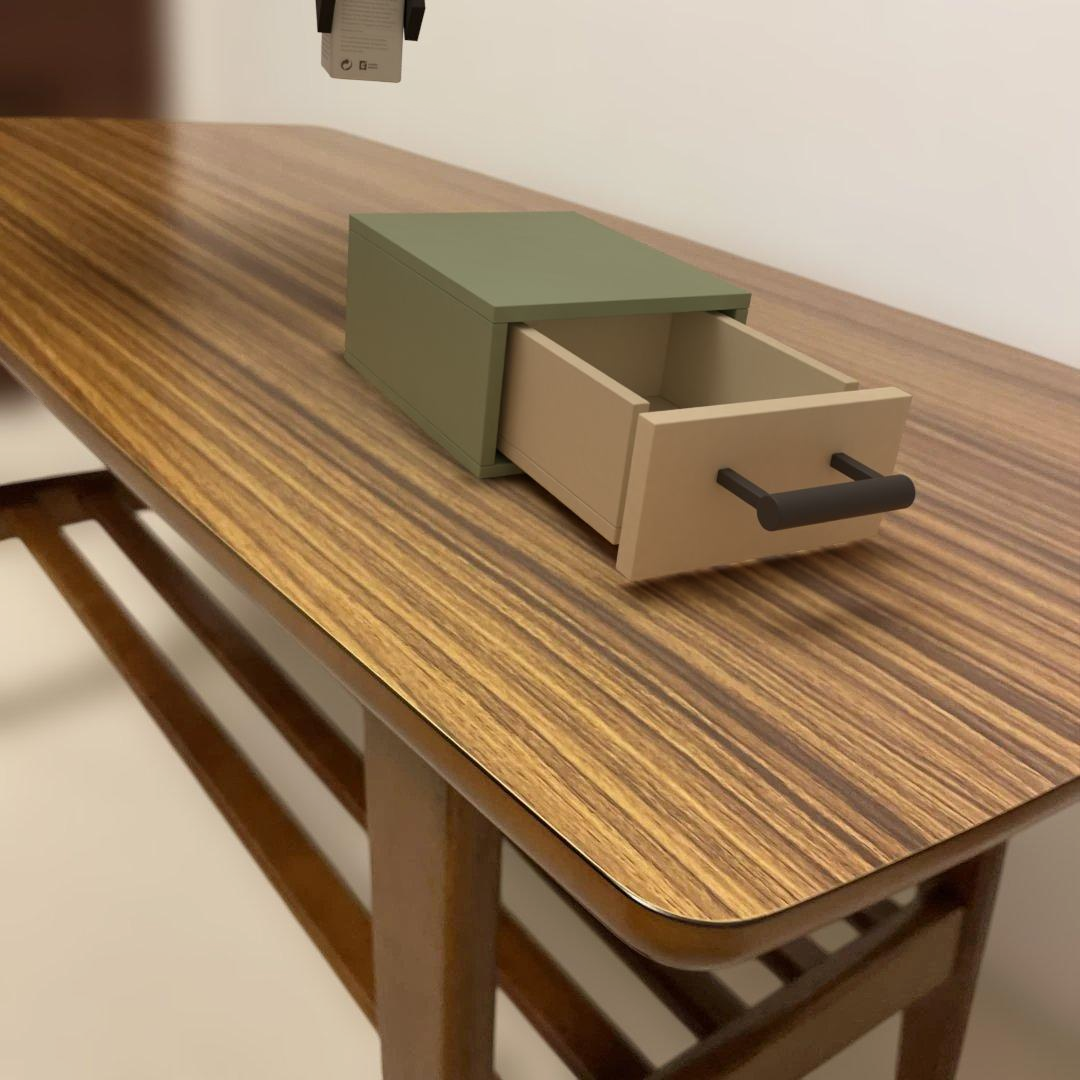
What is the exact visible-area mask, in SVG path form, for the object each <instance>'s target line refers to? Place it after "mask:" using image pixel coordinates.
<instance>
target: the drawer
mask: <svg viewBox="0 0 1080 1080" xmlns="http://www.w3.org/2000/svg"><path fill="white" fill-rule="evenodd" d="M859 385H860V381H859V380H858V379H855V378H853V377H851V376H849V375H847V374H845V373H843V372H841V371H839V370H837V369H835V368H833V367H831V366H829V365H827V364H825V363H822V362H821V361H819V360H817V359H815V358H813V357H810V356H809V355H807V354H805V353H803V352H800V351H799V350H797V349H794V348H792V347H791V346H788V345H786V344H785V343H784V342H781V341H779V340H777V339H774V338H772V337H770V336H768V335H766V334H765V333H763V332H761V331H758V330H756V329H754V328H752V327H750V326H748V325H744V324H742V323H740V322H738V321H736V320H734V319H732V318H730V317H728V316H726V315H724V314H722V313H720V312H718V311H716V310H711V311H694V312H677V313H660V314H643V315H627V316H610V317H593V318H576V319H559V320H542V321H525V322H509V323H508V328H507V338H506V349H505V359H504V369H503V380H502V390H501V401H500V411H499V421H498V432H497V442H496V448H497V449H498V450H499V451H500V452H502V453H503V454H504V455H505V456H506V457H508V458H509V459H510V460H511V461H512V462H514V463H515V464H516V465H517V466H518V467H520V468H521V469H522V470H523V471H525V472H526V473H525V474H526V475H528V476H529V477H530V478H532V479H533V480H534V481H535V482H536V483H537V484H539V485H540V486H541V487H542V488H544V489H545V490H546V491H547V492H548V493H550V494H551V495H552V496H553V497H555V498H556V499H557V500H558V501H559V502H561V503H562V504H563V505H564V506H566V507H567V508H568V509H569V510H570V511H571V512H572V513H574V514H575V515H576V516H578V517H579V518H580V519H581V520H582V521H584V522H585V524H588V526H589V527H591V528H592V529H593V530H595V531H596V532H597V533H598V534H599V535H601V536H602V537H603V538H604V539H605V540H606V541H608V543H610V544H611V545H613V546H615V545H618V550H617V556H616V564H615V569H616V571H617V572H619V573H620V574H621V575H623V576H624V578H626V579H627V580H628V581H630V582H637V581H641V580H647V579H653V578H658V577H663V576H668V575H674V574H680V573H685V572H686V573H687V572H691V571H696V570H702V569H707V568H714V567H718V566H723V565H730V564H734V563H739V562H745V561H750V560H755V559H756V560H758V559H761V558H767V557H774V556H778V555H785V554H788V553H795V552H799V551H806V550H810V549H816V548H821V547H827V546H833V545H838V544H844V543H849V542H854V541H855V542H856V541H860V540H864V539H871V538H875V537H877V536H878V533H879V530H880V526H881V522H882V518H883V513H887V512H888V513H889V512H894V511H898V510H899V511H900V510H904V509H908V508H910V507H911V506H912V505H913V503H914V502H915V500H916V493H917V492H916V486H915V484H914V482H913V480H912V479H911V477H909V476H907V475H905V474H902V473H898V474H894V470H895V467H896V463H897V460H898V456H899V455H898V454H899V451H900V447H901V444H902V439H903V435H904V431H905V427H906V425H907V424H906V423H907V419H908V416H909V411H910V407H911V404H912V400H913V395H912V394H910V393H908V392H906V391H904V390H902V389H900V388H898V387H896V386H886V387H875V388H867V389H859Z"/></svg>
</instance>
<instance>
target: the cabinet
mask: <svg viewBox="0 0 1080 1080" xmlns="http://www.w3.org/2000/svg"><path fill="white" fill-rule="evenodd" d="M347 242H348V243H347V244H348V245H347V267H346V268H347V271H346V295H345V296H346V299H345V301H346V302H345V323H344V324H345V325H344V356H343V358H344V359H343V360H344V361H345V362H346V363H348V364H349V365H350V366H351V367H352V368H353V369H355V370H356V372H358V373H359V374H360V375H361V376H363V378H365V380H367V381H368V382H369V383H370V384H371V385H372V386H374V388H376V389H377V390H378V391H379V392H380V393H381V394H383V395H384V396H385V397H386V398H387V399H388V400H389V401H390V402H391V403H393V404H394V405H395V406H396V407H397V408H398V409H400V410H401V411H402V412H403V413H404V414H405V415H406V416H407V417H408V418H410V420H412V421H413V422H414V423H415V424H417V425H418V426H419V427H420V428H421V429H422V430H423V431H424V432H425V433H427V435H429V436H430V438H432V439H433V440H434V441H436V443H438V444H439V445H440V446H441V447H442V448H444V450H446V451H447V452H448V453H449V454H450V455H451V456H452V457H454V458H455V459H456V460H457V461H458V462H460V464H461V465H462V466H464V468H466V469H467V470H468V471H469V472H470V473H472V474H473V475H474V476H475V477H476V478H477V479H480V480H483V479H490V478H496V477H505V476H513V475H521V474H522V475H523V474H527V473H526V472H525V471H523V470H522V469H521V468H520V467H518V466H517V465H516V464H515V463H514V462H512V461H511V460H510V459H509V458H508V457H506V456H505V455H504V454H503V453H502V452H500V451H499V450H498V449H497V448H496V442H497V432H498V421H499V411H500V401H501V390H502V380H503V369H504V359H505V349H506V338H507V328H508V323H509V322H525V321H542V320H559V319H576V318H593V317H610V316H627V315H643V314H660V313H677V312H694V311H711V310H716V311H718V312H720V313H722V314H724V315H726V316H728V317H730V318H732V319H734V320H736V321H738V322H740V323H742V324H744V325H746V324H747V319H748V314H749V309H750V305H751V300H752V295H753V294H752V292H750V291H747V290H746V289H744V288H742V287H739V286H738V285H735V284H733V283H731V282H728V281H726V280H724V279H722V278H720V277H717V276H715V275H713V274H711V273H709V272H706V271H704V270H703V269H700V268H699V267H696V266H693V265H691V264H690V263H687V262H685V261H683V260H680V259H679V258H676V257H674V256H672V255H669V254H667V253H666V252H664V251H661V250H659V249H657V248H654V247H652V246H650V245H648V244H646V243H644V242H641V241H639V240H638V239H635V238H633V237H631V236H628V235H626V234H624V233H622V232H620V231H618V230H616V229H613V228H611V227H609V226H608V225H604V224H603V223H600V222H598V221H596V220H594V219H592V218H590V217H587V216H585V215H583V214H581V213H579V212H576V211H573V210H567V211H565V210H564V211H563V210H561V211H557V210H556V211H483V212H482V211H479V212H478V211H476V212H475V211H474V212H473V211H472V212H470V211H469V212H466V211H465V212H389V213H387V212H384V213H383V212H381V213H379V212H378V213H376V212H375V213H373V212H372V213H349V214H348V241H347ZM746 326H747V325H746Z"/></svg>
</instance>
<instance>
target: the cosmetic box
mask: <svg viewBox="0 0 1080 1080" xmlns="http://www.w3.org/2000/svg"><path fill="white" fill-rule="evenodd" d="M404 6H405V0H336V2H335V9H334V16H333V23H332V29H331V34H330V33H321V45H320V48H321V49H320V50H321V51H320V64H321V65H320V66H321V67H322V68H323V69H324V70H325V72H326V73H327V74H328V75H329V77H330V78H331V79H337V80H350V81H365V82H379V83H391V84H399V83H400V82H402V68H403V65H402V64H403V46H404V45H403V44H404V28H403V26H404Z"/></svg>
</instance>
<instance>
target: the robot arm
mask: <svg viewBox="0 0 1080 1080" xmlns="http://www.w3.org/2000/svg"><path fill="white" fill-rule="evenodd" d="M335 2H336V0H315V14H316V15H315V16H316V32H317V33H320V34H322V33H330V34H331V29H332V23H333V16H334V9H335ZM426 8H427V7H426V0H405V6H404V26H403V40H404V41H408V42H409V41H410V42H418V41H419V37H420V33H421V29H422V25H423V20H424V17H425V13H426Z"/></svg>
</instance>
